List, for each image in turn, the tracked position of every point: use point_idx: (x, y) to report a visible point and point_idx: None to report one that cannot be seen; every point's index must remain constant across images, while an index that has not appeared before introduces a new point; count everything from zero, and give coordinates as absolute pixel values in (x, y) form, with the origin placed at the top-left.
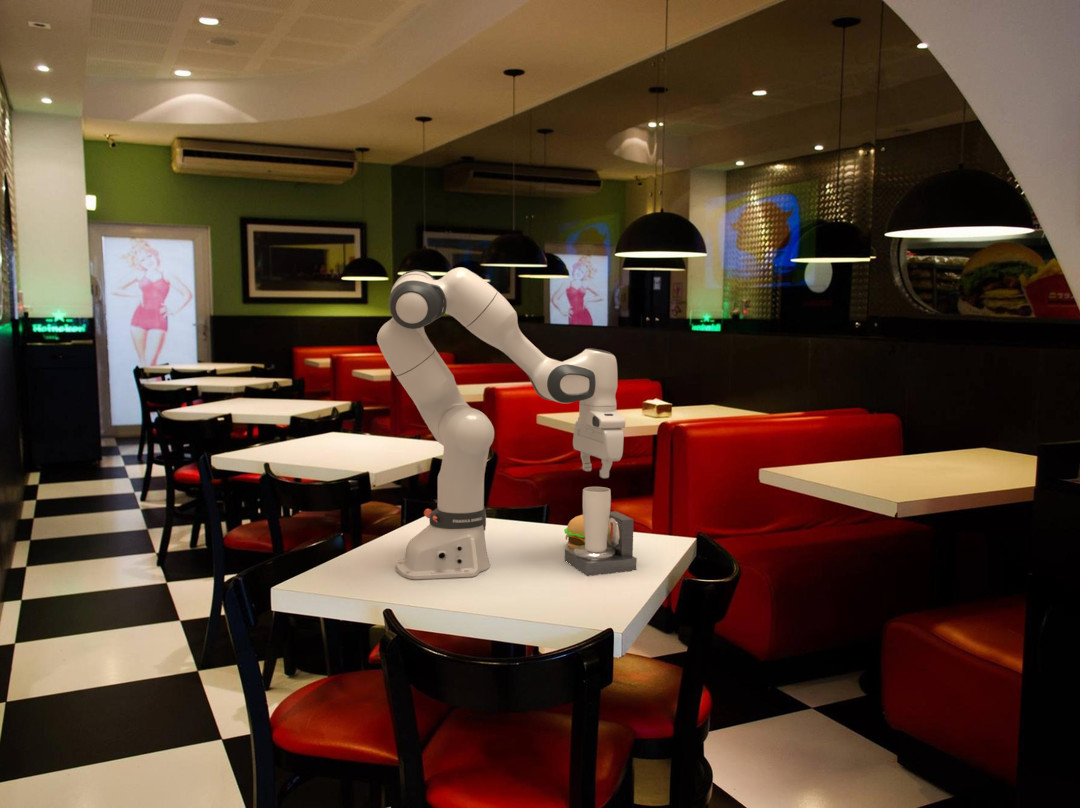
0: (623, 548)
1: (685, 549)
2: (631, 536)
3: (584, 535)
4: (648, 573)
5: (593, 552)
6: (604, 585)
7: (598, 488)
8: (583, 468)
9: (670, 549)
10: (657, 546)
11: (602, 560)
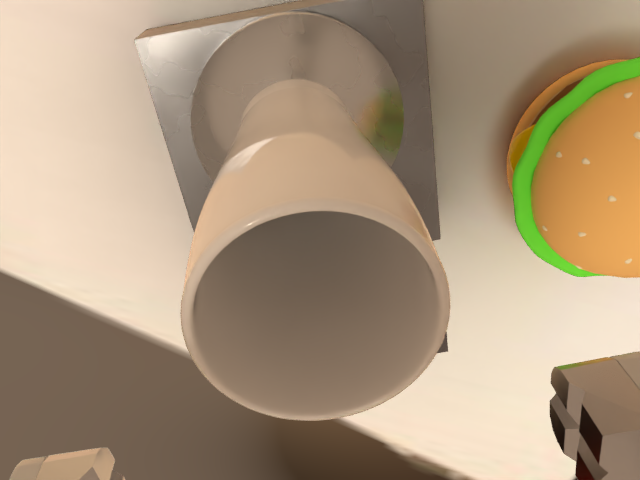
0: None
1: (436, 457)
2: None
3: (542, 139)
4: (172, 284)
5: None
6: (4, 73)
7: (421, 349)
8: (620, 368)
9: (450, 420)
10: (500, 394)
11: (183, 130)
